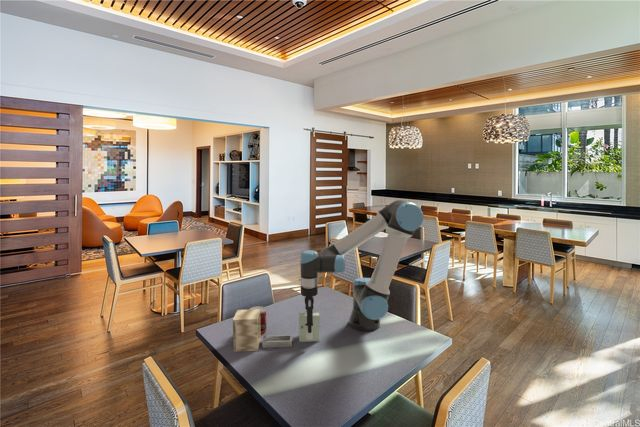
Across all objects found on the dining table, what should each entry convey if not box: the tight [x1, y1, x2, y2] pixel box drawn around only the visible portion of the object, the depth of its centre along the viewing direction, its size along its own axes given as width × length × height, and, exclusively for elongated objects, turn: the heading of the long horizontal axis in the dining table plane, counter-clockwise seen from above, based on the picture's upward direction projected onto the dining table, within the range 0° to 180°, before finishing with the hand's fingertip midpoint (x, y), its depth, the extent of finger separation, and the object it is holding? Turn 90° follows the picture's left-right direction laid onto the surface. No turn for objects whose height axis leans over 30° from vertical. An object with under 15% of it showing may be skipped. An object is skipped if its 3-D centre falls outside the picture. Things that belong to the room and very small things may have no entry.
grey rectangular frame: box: [261, 334, 293, 349], centre depth 143 cm, size 13×6×3 cm, turn 94°
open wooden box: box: [232, 308, 262, 352], centre depth 142 cm, size 10×10×14 cm
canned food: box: [248, 305, 267, 336], centre depth 154 cm, size 8×8×11 cm
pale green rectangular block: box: [298, 312, 320, 343], centre depth 146 cm, size 9×4×12 cm, turn 94°
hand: (309, 331), depth 147 cm, fingers open, 13 cm apart
